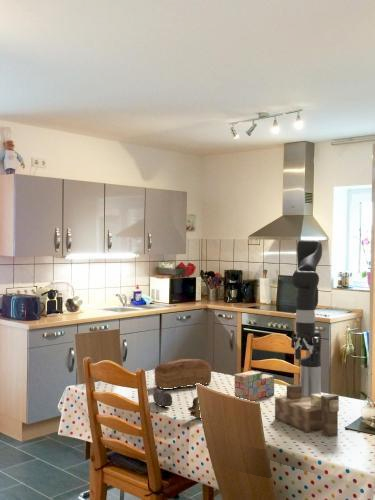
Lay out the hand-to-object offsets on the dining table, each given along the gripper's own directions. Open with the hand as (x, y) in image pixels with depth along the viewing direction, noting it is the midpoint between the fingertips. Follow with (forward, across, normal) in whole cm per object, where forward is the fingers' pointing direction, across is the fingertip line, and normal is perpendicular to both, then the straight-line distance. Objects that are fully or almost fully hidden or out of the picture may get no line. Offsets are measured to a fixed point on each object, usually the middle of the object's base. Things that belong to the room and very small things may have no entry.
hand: (305, 361), depth 223 cm
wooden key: (+16, -10, 0) cm, 19 cm away
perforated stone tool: (+26, +55, +36) cm, 71 cm away
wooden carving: (+26, +30, +30) cm, 50 cm away
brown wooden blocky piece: (+26, -1, 0) cm, 26 cm away
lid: (+18, +3, -1) cm, 18 cm away
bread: (+26, +82, +10) cm, 86 cm away
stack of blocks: (+26, +44, -9) cm, 52 cm away
